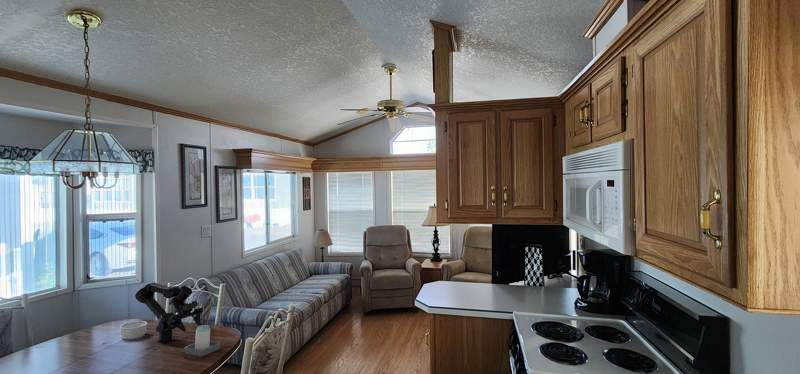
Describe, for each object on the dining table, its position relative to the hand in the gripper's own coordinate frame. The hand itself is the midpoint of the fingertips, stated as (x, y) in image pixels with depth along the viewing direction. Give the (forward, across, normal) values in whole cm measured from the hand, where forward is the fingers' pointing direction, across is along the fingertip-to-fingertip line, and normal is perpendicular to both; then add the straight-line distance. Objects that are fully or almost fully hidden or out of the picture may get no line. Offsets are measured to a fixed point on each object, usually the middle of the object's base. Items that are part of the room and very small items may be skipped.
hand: (192, 328), depth 206 cm
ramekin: (-24, -4, +39) cm, 46 cm away
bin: (+13, 0, +2) cm, 13 cm away
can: (+12, 0, +2) cm, 13 cm away
